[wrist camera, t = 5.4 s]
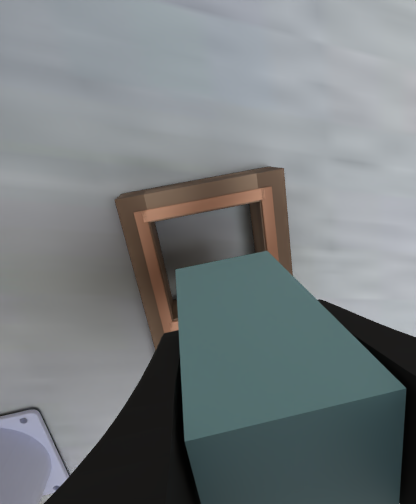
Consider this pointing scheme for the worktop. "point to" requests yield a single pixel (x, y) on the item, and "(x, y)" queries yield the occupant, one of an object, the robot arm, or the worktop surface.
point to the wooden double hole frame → (192, 202)
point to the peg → (281, 393)
